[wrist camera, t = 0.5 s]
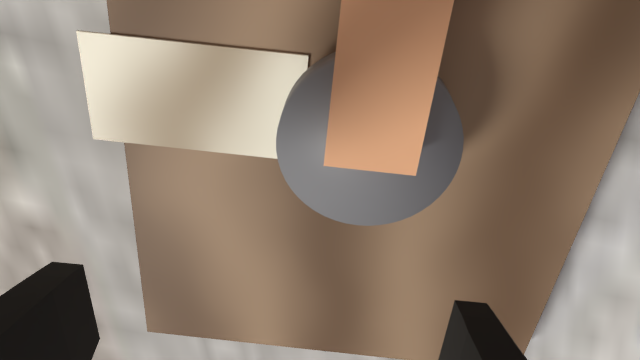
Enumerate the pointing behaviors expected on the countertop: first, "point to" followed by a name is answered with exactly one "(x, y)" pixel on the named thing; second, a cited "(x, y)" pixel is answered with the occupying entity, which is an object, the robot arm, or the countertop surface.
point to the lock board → (333, 236)
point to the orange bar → (374, 116)
